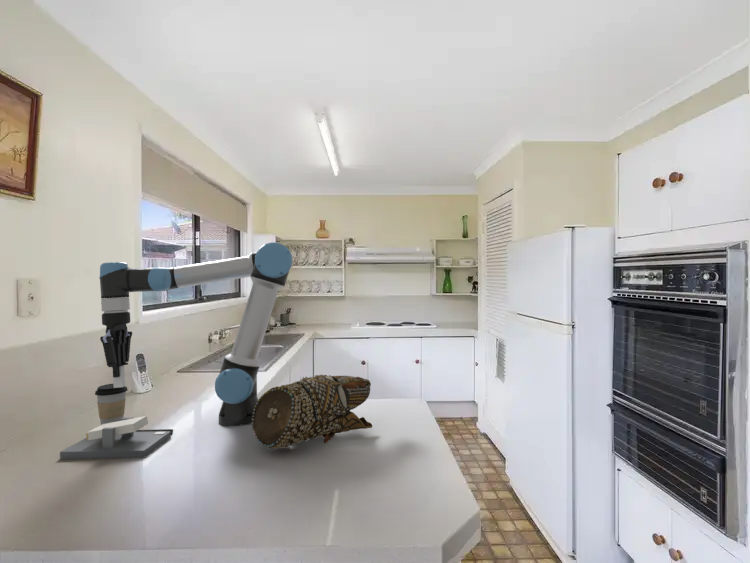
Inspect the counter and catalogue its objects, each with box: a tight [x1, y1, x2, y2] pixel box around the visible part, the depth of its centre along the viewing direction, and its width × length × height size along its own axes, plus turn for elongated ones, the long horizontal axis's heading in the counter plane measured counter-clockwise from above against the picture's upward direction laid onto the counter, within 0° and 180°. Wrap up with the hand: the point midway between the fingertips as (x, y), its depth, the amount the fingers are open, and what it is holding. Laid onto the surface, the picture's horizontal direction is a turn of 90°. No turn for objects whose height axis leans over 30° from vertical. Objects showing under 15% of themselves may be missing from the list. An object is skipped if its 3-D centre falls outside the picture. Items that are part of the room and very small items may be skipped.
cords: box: [135, 428, 174, 436], centre depth 134 cm, size 17×3×1 cm, turn 90°
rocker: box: [85, 415, 149, 440], centre depth 123 cm, size 14×7×2 cm, turn 90°
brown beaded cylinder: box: [251, 374, 373, 449], centre depth 128 cm, size 24×22×35 cm
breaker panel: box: [59, 416, 172, 460], centre depth 123 cm, size 24×15×8 cm, turn 90°
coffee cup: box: [94, 383, 129, 425], centre depth 139 cm, size 9×9×15 cm
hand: (119, 386), depth 128 cm, fingers closed
